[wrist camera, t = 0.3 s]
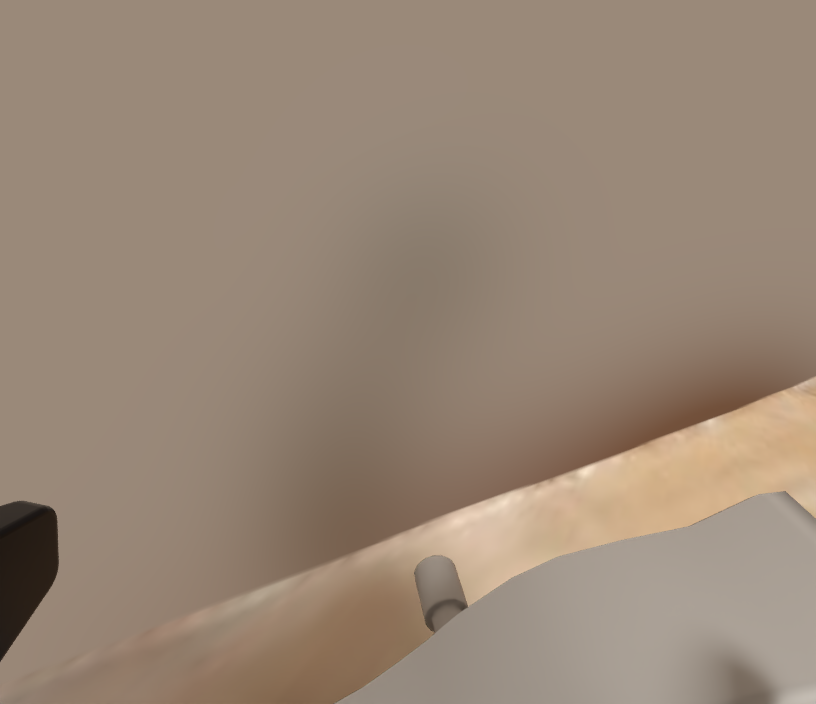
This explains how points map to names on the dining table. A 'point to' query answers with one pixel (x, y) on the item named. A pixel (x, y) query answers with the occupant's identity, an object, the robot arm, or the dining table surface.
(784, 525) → the pony
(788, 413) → the dining table surface
